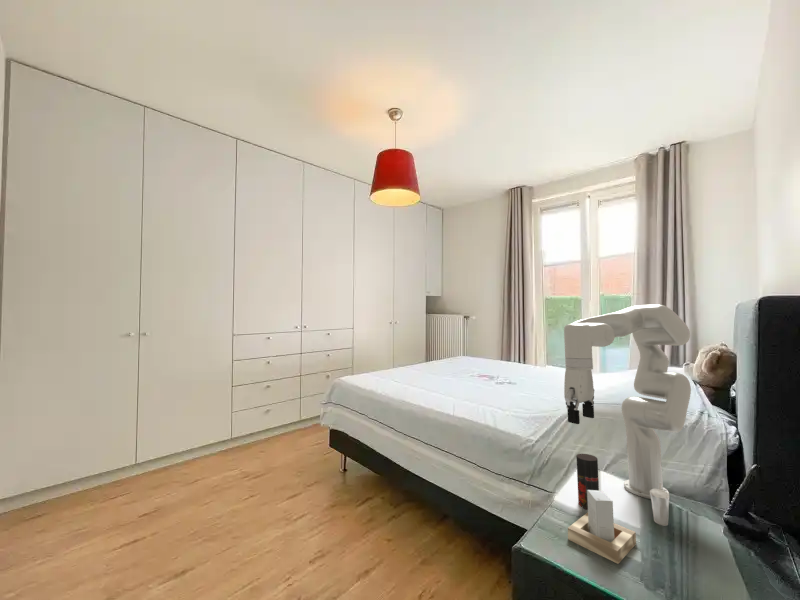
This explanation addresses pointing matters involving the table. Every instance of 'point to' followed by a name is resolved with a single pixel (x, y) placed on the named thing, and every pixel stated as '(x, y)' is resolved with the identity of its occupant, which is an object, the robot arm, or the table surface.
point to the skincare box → (600, 515)
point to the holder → (609, 550)
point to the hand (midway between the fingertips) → (581, 420)
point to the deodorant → (586, 477)
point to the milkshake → (660, 505)
